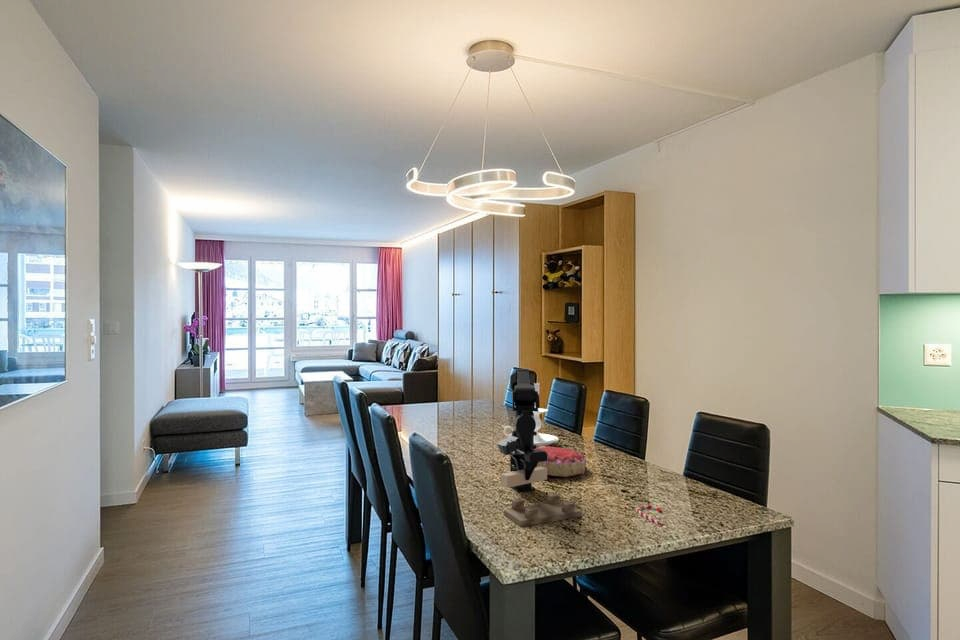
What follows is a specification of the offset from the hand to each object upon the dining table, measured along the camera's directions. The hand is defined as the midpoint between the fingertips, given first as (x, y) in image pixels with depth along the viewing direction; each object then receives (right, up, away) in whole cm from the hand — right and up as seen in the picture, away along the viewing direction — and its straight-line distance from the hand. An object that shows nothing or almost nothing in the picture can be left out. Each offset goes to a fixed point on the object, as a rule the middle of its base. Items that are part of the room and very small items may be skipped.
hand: (524, 478), depth 178 cm
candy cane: (+36, -8, -12) cm, 39 cm away
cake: (+13, -7, +37) cm, 40 cm away
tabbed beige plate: (+4, -7, -12) cm, 15 cm away
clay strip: (0, -1, 0) cm, 1 cm away
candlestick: (+9, -7, +78) cm, 79 cm away
